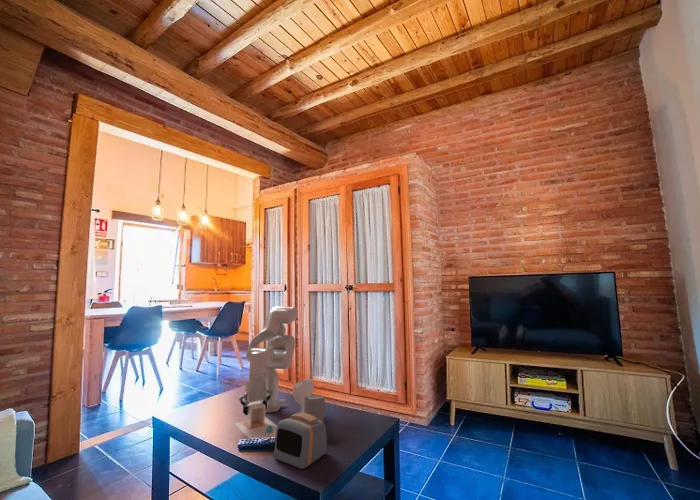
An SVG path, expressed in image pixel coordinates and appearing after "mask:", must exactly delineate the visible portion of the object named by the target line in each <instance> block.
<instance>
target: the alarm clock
mask: <svg viewBox="0 0 700 500" xmlns="http://www.w3.org/2000/svg"><path fill="white" fill-rule="evenodd" d="M276 425H277V431H276V438H275V443H274V449H273V451H274V452H273V453H274V458H275V459H276V460H278V461H279V462H280V461H281V462H282V463H285V464H288V465H290V466H293V467H296V468H297V469H300V470H304V469H306V468H308V467H309V466H310V465H312V464H313V463H314V462H316V461H317V460H319V459H320V458H321V457H322V456H324V455H326V453H327V449H328V448H327V447H328V445H327V427H326V423H325V422H324V423H323V422H322V421H320V420H318V419H317V418H316V417H314V416H312V415H310V414H306V413H301V412H297V413H295V414H291V416H290V417H287V418H284V419H280V421H279V422H277V424H276Z"/></svg>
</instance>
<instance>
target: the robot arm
mask: <svg viewBox="0 0 700 500" xmlns="http://www.w3.org/2000/svg"><path fill="white" fill-rule="evenodd" d="M298 314H299V313H298V310H297V308H296V307H295V306H282V305H281V306H280V305H279V306H273V307H271V308H270V310H269V311H268V312H267V315H266V319H265V322H264V325H263V327H262V330H261V331H259V332H258V333H257V334H256V335H255V336H254V337H252V339H251V340H250V341H249V345H248V346H247V347H248V348H247V350H246V354H245V355H246V357H245V358H246V361H247V362H248V363H249V372H248V373H249V374H248V379H247V380H246V384H245V389H244V393H243V394H242V395H240V396H239V397H238V401H239V403H240V404H241V405H242V406H243V407H242V411H243V412H242V413H243V414H244V416H245V415H248V407H247V405H248V404H249V403H252V402H257V401H260V402H261V403H263V404H264V405H265V414H268V413H269V414H270V413H275V412H278V411H279V410H280V409H281V404H285V403H286V399H285V398H284V399H281V398H279V399H278V396H279V373H278V371H277V370H286V369H287V370H288V369H290V367H291V365H292V363H293V356H294V352H295V347H296V339H295V337H294V336H293V335H292V334H291V335H290V334H286V327H285V325H288V324H292V323H293V322H295V320H297V317H298ZM266 341H268V342H267V347H259V345H260V344H262V343H263V342H266Z"/></svg>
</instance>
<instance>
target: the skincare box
mask: <svg viewBox="0 0 700 500" xmlns="http://www.w3.org/2000/svg"><path fill="white" fill-rule="evenodd" d="M325 401H326V400H325V397H324V396H322V395H321V394H314V395H313V394H312V395H311V396H305V409H304V413H306V414H310V415H312V416H314V417H316V418H317V419H318V420H320V421H322V422H323V423H324V424H325V422H324V421H325Z"/></svg>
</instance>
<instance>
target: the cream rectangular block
mask: <svg viewBox="0 0 700 500" xmlns="http://www.w3.org/2000/svg"><path fill="white" fill-rule="evenodd" d="M247 407H248V415H245V414H244V417H243V418H244V423H245V424H246V425H247V426H248V427H249V428H251V423H252V421H256V420H258V421H259V422H261V423H262V424H263V425H264V424H265V417H266V413H265V405H264V404H263V403H261V402H260V400H258V401H253V402H249V404H248V405H247Z"/></svg>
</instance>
